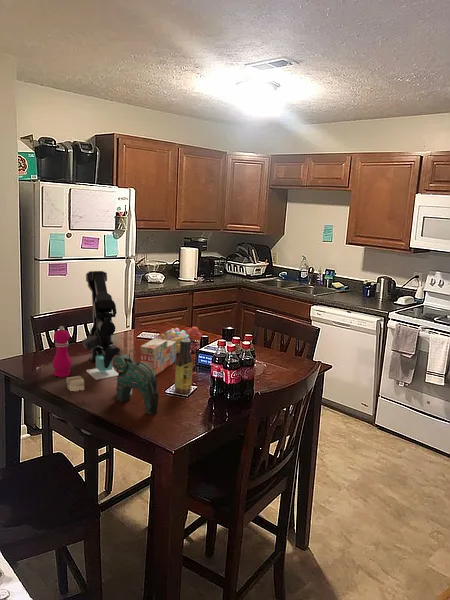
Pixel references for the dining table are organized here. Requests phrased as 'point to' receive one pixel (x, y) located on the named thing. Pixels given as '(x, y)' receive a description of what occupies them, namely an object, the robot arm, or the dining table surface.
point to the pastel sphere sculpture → (182, 337)
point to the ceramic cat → (136, 381)
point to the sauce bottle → (183, 368)
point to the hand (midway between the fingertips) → (103, 366)
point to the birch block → (75, 383)
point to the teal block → (102, 364)
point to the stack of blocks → (158, 354)
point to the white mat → (102, 373)
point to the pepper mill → (61, 353)
